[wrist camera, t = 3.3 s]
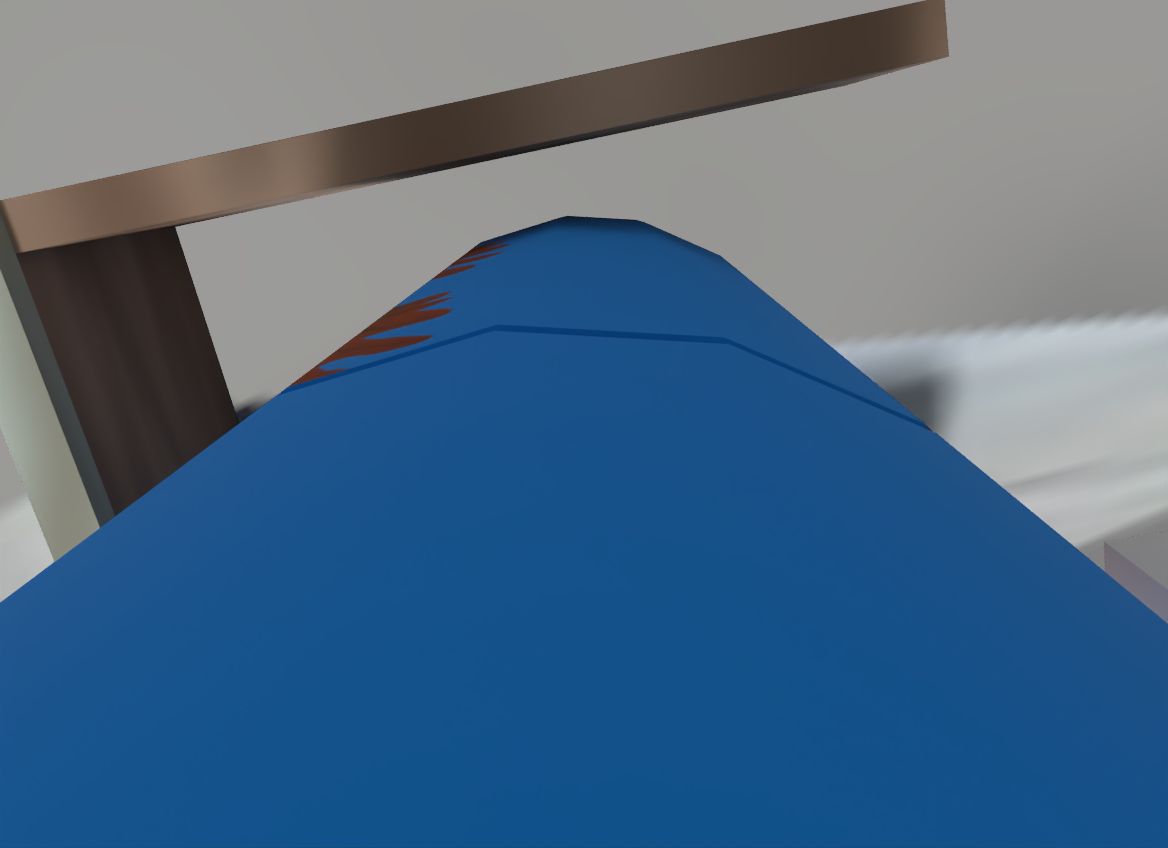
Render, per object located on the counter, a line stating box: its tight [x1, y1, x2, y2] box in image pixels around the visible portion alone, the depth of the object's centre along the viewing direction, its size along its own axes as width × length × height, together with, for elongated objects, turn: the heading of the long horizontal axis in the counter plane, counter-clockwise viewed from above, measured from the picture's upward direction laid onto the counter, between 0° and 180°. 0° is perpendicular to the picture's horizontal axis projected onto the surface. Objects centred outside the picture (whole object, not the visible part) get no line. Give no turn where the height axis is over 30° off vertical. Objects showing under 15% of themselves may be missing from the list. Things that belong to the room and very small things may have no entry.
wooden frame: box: [0, 0, 949, 561], centre depth 22 cm, size 19×16×8 cm
